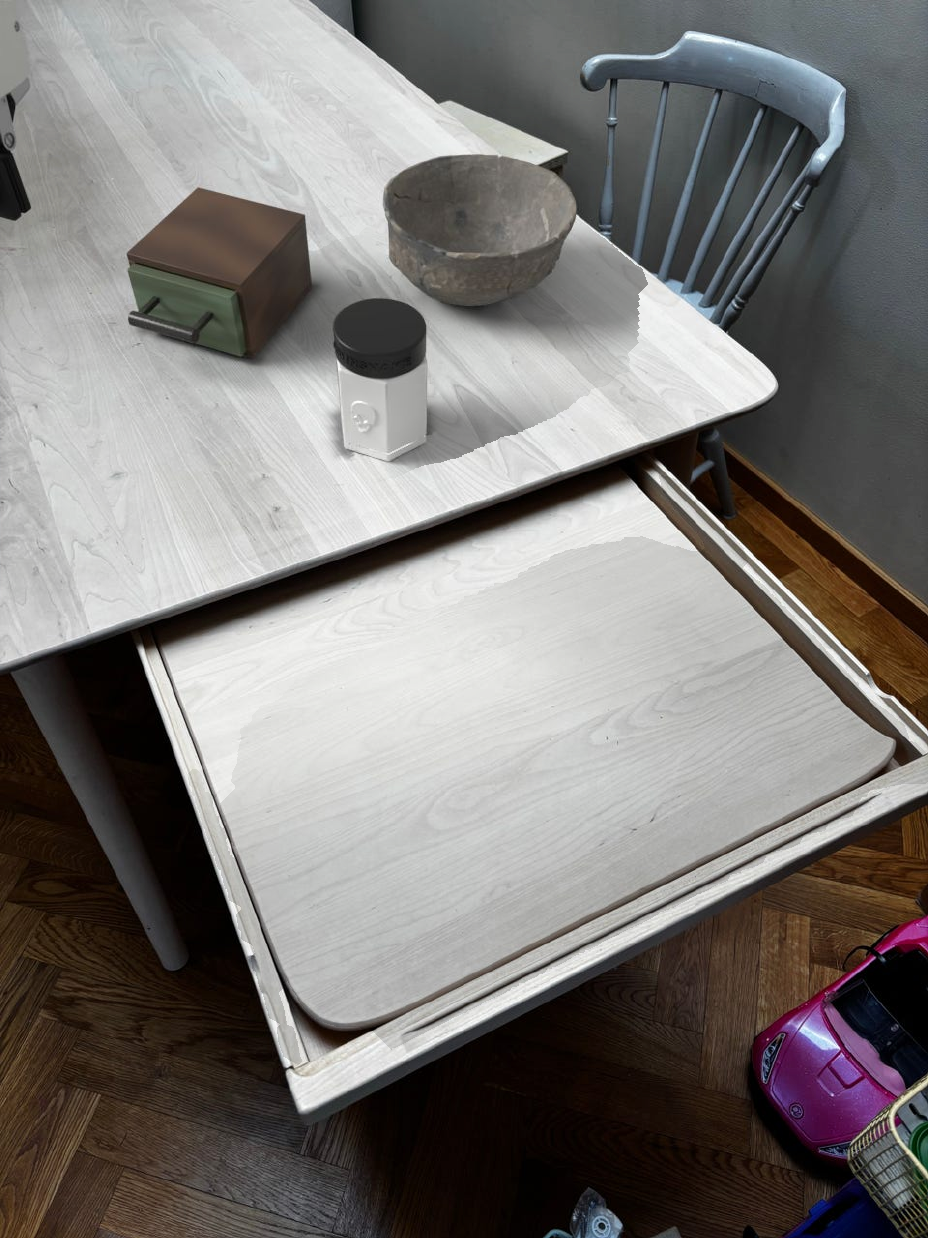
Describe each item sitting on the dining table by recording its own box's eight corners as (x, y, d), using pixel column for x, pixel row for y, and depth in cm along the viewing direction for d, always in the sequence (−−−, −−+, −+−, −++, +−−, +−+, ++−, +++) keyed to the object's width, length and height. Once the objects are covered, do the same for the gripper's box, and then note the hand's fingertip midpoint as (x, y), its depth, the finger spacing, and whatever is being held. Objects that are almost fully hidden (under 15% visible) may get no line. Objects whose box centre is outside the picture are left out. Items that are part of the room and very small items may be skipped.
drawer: (220, 382, 90) (207, 323, 84) (119, 352, 92) (101, 293, 86) (297, 290, 99) (290, 232, 94) (205, 265, 101) (193, 206, 96)
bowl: (523, 221, 111) (532, 138, 103) (595, 320, 100) (611, 236, 92) (360, 248, 106) (356, 163, 98) (416, 355, 95) (416, 269, 87)
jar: (322, 444, 87) (311, 338, 77) (358, 392, 91) (352, 286, 82) (409, 471, 85) (408, 366, 75) (441, 417, 90) (445, 312, 80)
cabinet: (253, 358, 94) (240, 284, 87) (146, 327, 96) (125, 252, 89) (312, 287, 101) (305, 214, 94) (212, 260, 104) (197, 186, 97)
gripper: (-80, -166, 53) (27, 150, 68) (-290, -88, 45) (-116, 253, 59) (29, -145, 52) (114, 172, 67) (-166, -61, 43) (-19, 281, 58)
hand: (5, 210), depth 63 cm, fingers closed
